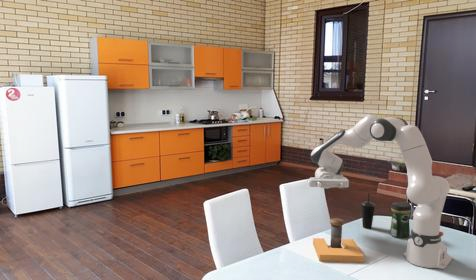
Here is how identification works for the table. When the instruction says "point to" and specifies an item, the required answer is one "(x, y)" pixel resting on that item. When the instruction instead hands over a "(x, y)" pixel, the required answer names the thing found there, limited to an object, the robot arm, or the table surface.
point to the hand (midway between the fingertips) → (331, 186)
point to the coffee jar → (400, 219)
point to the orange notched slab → (338, 251)
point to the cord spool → (336, 232)
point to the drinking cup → (367, 213)
